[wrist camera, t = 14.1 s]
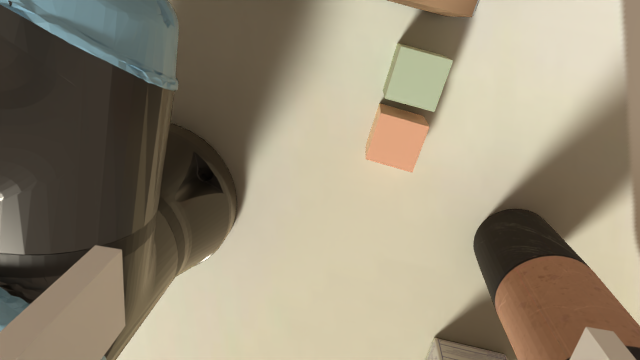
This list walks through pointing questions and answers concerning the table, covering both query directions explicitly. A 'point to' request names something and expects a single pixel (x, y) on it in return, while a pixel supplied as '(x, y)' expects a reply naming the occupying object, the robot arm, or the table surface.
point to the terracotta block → (396, 137)
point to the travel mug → (545, 288)
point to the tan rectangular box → (443, 6)
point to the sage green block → (416, 77)
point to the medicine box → (460, 352)
